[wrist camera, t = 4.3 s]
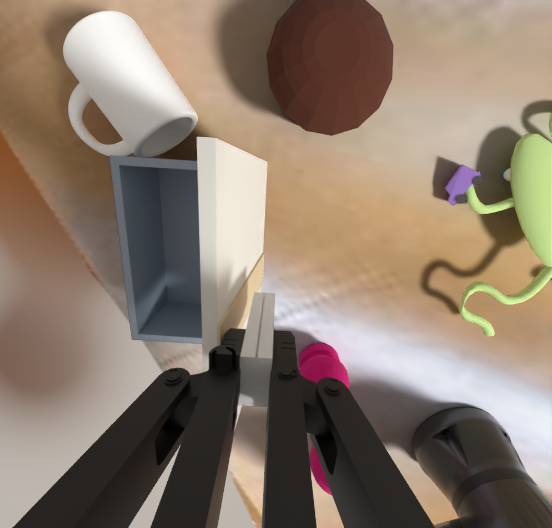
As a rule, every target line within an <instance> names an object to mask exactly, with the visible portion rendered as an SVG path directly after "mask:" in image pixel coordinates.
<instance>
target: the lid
mask: <svg viewBox="0 0 552 528" xmlns="http://www.w3.org/2000/svg"><path fill="white" fill-rule="evenodd" d="M197 166H198V202H199V239H200V275H201V311H202V347H203V372H206V371H208V370H209V352H210V351H211V349H213V348H214V347H216V346H220V345H221V343H222V340H223V338H224V335H225V333H226V332H227V331H228V330H229V329H230V328H237V329H246V327H247V323H248V318H249V314H250V309H251V304H252V300H253V295H254V292H259V293H261V285H262V283H263V272H264V253H263V241H264V221H265V201H266V180H267V162H266V161H264V160H262V159H260V158H257V157H255V156H253V155H251V154H249V153H247V152H245V151H243V150H241V149H238V148H236V147H234V146H232V145H230V144H228V143H226V142H224V141H221V140H219V139H217V138H210V137H197ZM241 408H242V405H239V402H238V407H237V419H236V425H237V421H238V418H239V414H240V411H241ZM236 425H235V428H236ZM234 432H235V430H234Z"/></svg>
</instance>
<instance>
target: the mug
mask: <svg viewBox="0 0 552 528" xmlns="http://www.w3.org/2000/svg"><path fill="white" fill-rule="evenodd" d="M63 56H64V60H65V62H66V64H67V66H68V67H69V69H70V70H71V71H72V73H73V74H74V75H75V77H76V78H77V79H78V80H79V84H78V85H77V86H76V88H75V89H74V90H73V92H72V94H71V96H70V99H69V104H68V114H69V119H70V122H71V124H72V127H73V128H74V130H75V132H76V133H77V134H78V136H79V137H80V138H81V139H82V140H83V141H84V142H85V143H86V144H87V145H89V146H90V147H91V148H93V149H94V150H96V151H98V152H99V153H101V154H104V155H106V156H109V155H113V156H128V155H130V154H132V153H134V154H135V155H136V156H137V157H143V158H151V157H155V156H158V155H160V154H162V153H165V152H166V151H168V150H170V149H172V148H173V147H175V146H176V145H178V144H179V143H180V142H182V141H183V140H184V139H185V138H186V137H187V136H188V135H189V134H190V133H191V132H192V131H193V130H194V128H195V126H196V124H197V122H198V116H197V114H196V112H195V111H194V109H193V108H192V106H191V105H190V103H189V102H188V100H187V99H186V97H185V96H184V94H183V93H182V91H181V90H180V88H179V87H178V85H177V84H176V82H175V81H174V79H173V78H172V76H171V75H170V73H169V72H168V70H167V69H166V67H165V66H164V64H163V63H162V61H161V60H160V58H159V57H158V55H157V54H156V52H155V51H154V49H153V48H152V46H151V45H150V43H149V42H148V40H147V39H146V37H145V36H144V34H143V33H142V31H141V30H140V28H139V27H138V25H137V24H136V22H135V21H134V20H133V19H132V18H131V17H129V16H128V15H126V14H124V13H121V12H117V11H100V12H96V13H93V14H91V15H88V16H86V17H84V18H83V19H81V20H80V21H79V22H77V23H76V24H75V25H74V26H73V27H72V28H71V30H70V31H69V33H68V34H67V36H66V38H65V41H64V45H63ZM91 99H93V100H94V102H95V103H96V104H97V106H98V107H99V108H100V109H101V111H102V112H103V113H104V115H105V116H106V117H107V119H108V120H109V121H110V123H111V124H112V125H113V127H114V128H115V129H116V131H117V132H118V133H119V135H120V136H121V137H122V139H123V140H122V141H120V142H118V143H115V144H111V145H105V144H102V143H100V142H98V141H97V140H96V139H95V138H94V137H93V136H92V135H91V134H90V133H89V131H88V130H87V129H86V127H85V125H84V123H83V120H82V114H83V111H84V109H85V107H86V105H87V104H88V102H89V101H90V100H91Z"/></svg>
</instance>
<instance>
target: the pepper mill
mask: <svg viewBox="0 0 552 528" xmlns="http://www.w3.org/2000/svg"><path fill="white" fill-rule="evenodd" d="M299 367H300V369H299V373H300V374H301V375H302V376H303V377H305V378H306V379H308V380H311V381H313V382H317V383H318V381H319V380H320V379H322V378H325V377H332V378H336V379H338V380H340V381H342V382H343V383H344V384H345V385H346V386H347V388H348V389H349V379H348V374H347V371H346V369H345V367H344V365H343V364H342V363H341V362H340V360H339V357H338V354H337V352H336V351H335V350H334V349H333V348H332V347H331V346H329V345H327V344H322V343H318V344H312V345H310V346H308V347H306V348H305V349H304V350H303V351H302V352H301V354H300V357H299ZM310 464H311V469H312V472H313V475H314V478H315V480H316V482H317V483H318V484H319V486H320V487H321V488H322V489H323V490H324V491H325V492H327V493H328V494H330V495H332V493H331V490H330V488H329V485H328V482H327V480H326V477H325V474H324V472H323V469H322V466H321V463H320V461H319V458H318V455H317V453H316V450H315V447H314V445H313V446H312V449H311V453H310Z"/></svg>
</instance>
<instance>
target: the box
mask: <svg viewBox="0 0 552 528" xmlns="http://www.w3.org/2000/svg"><path fill="white" fill-rule="evenodd" d="M109 158H110V166H111V174H112V183H113V191H114V199H115V207H116V215H117V223H118V231H119V239H120V247H121V256H122V264H123V272H124V280H125V288H126V296H127V304H128V312H129V320H130V328H131V337H132V340H145V341H161V342H176V343H192V344H202V311H201V275H200V239H199V202H198V166H197V161H189V160H173V159H158V158H143V157H128V156H113V155H109Z"/></svg>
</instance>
